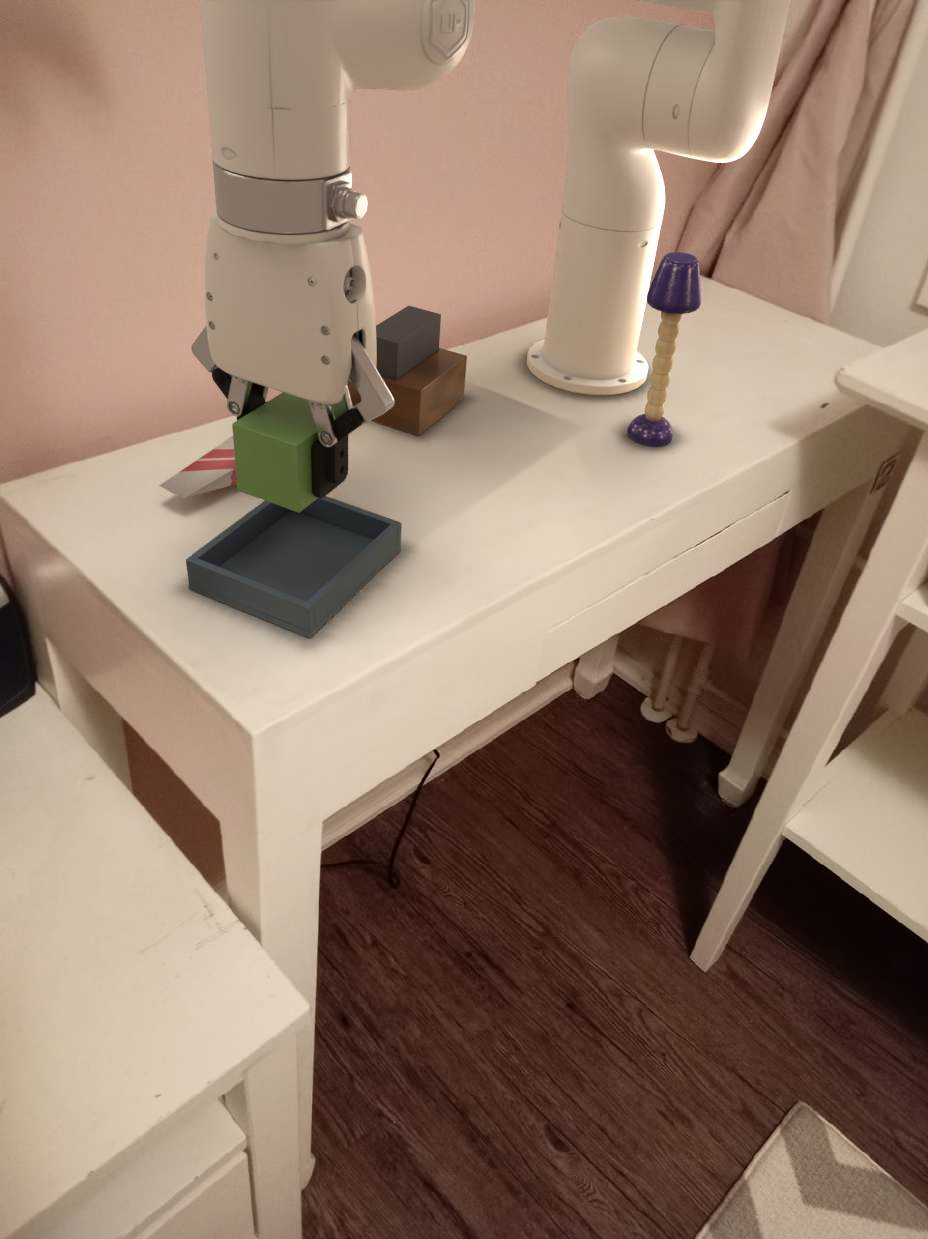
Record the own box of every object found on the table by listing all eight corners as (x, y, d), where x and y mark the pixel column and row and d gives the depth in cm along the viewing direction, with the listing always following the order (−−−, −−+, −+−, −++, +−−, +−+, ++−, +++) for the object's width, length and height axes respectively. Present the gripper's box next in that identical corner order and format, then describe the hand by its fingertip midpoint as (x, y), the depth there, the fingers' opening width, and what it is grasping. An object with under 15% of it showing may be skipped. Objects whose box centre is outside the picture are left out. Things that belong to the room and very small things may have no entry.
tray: (289, 510, 78) (288, 482, 76) (400, 551, 74) (401, 522, 73) (189, 589, 69) (185, 559, 67) (310, 639, 66) (309, 609, 64)
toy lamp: (641, 451, 89) (679, 269, 79) (610, 428, 92) (643, 250, 82) (681, 441, 91) (724, 262, 81) (649, 419, 94) (687, 244, 84)
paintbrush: (152, 466, 75) (328, 392, 89) (155, 497, 77) (327, 420, 91) (186, 483, 74) (360, 406, 87) (188, 515, 75) (359, 434, 89)
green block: (289, 453, 70) (286, 389, 67) (348, 474, 68) (348, 409, 65) (237, 490, 66) (231, 423, 62) (299, 513, 64) (296, 445, 61)
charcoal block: (407, 340, 94) (408, 305, 91) (439, 349, 93) (441, 314, 90) (363, 370, 88) (363, 333, 86) (396, 380, 87) (397, 343, 85)
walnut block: (384, 375, 98) (385, 332, 95) (463, 399, 95) (467, 355, 92) (334, 409, 91) (334, 364, 88) (418, 436, 88) (421, 390, 86)
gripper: (447, 213, 55) (429, 489, 67) (204, 155, 61) (226, 420, 72) (378, 247, 50) (372, 541, 61) (119, 181, 55) (157, 463, 67)
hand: (293, 473), depth 66 cm, fingers closed on green block, 5 cm apart
